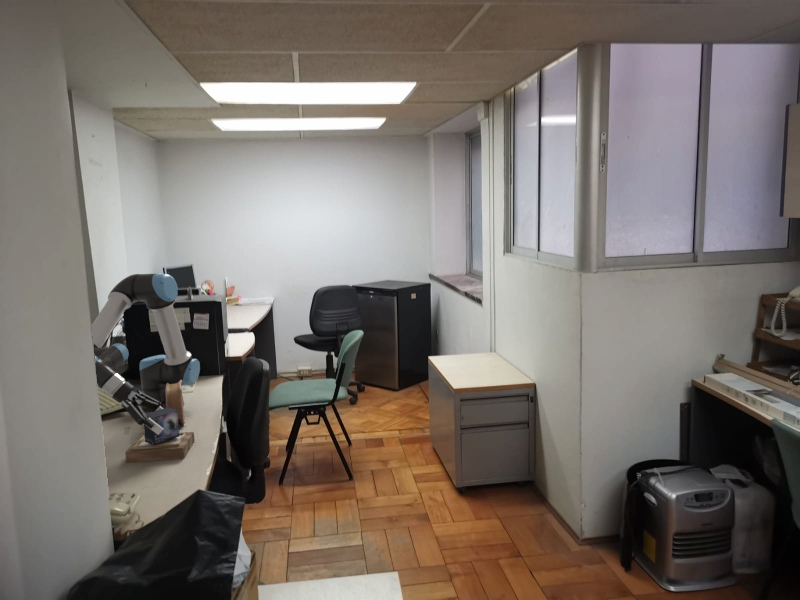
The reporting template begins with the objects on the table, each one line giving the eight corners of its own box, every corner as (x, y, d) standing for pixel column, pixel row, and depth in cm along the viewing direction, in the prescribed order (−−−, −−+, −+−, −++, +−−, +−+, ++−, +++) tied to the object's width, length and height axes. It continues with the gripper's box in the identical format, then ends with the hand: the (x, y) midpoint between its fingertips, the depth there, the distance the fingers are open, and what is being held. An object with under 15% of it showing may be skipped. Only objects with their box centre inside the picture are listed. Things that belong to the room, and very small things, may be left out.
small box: (154, 446, 216) (151, 418, 214) (144, 442, 220) (141, 414, 218) (180, 436, 224) (177, 409, 223) (170, 433, 228) (167, 406, 227)
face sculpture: (186, 428, 246) (183, 389, 244) (168, 431, 244) (164, 391, 242) (185, 413, 265) (182, 377, 262) (168, 416, 263) (165, 379, 260)
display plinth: (141, 445, 230) (139, 433, 229) (194, 441, 232) (193, 429, 231) (126, 462, 214) (124, 450, 213) (184, 458, 216) (182, 445, 215)
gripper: (123, 386, 230) (168, 421, 234) (98, 406, 206) (149, 445, 210) (136, 372, 230) (181, 407, 233) (113, 390, 206) (163, 430, 209)
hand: (166, 425), depth 222 cm, fingers open, 12 cm apart
